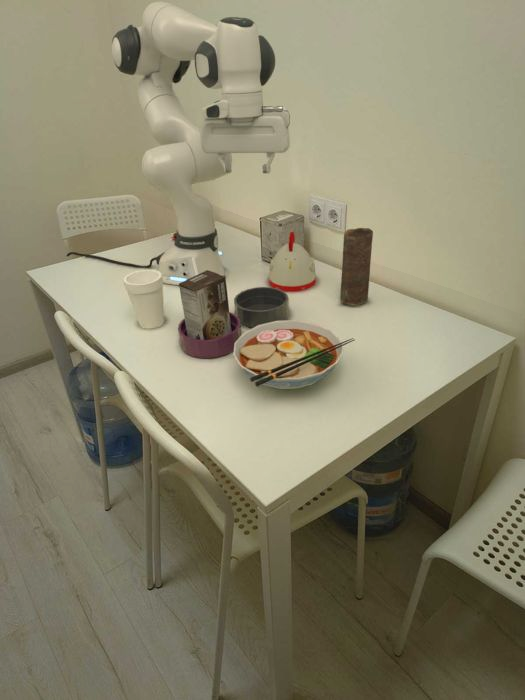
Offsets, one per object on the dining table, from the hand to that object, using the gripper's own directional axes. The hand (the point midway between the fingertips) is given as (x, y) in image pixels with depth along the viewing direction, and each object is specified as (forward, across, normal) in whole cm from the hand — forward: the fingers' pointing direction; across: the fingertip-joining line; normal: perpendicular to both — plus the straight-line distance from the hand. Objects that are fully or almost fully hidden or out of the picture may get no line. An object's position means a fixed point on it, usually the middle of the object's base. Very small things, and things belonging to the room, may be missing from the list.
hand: (247, 172), depth 112 cm
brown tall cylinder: (+35, -26, -6) cm, 44 cm away
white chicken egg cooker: (+35, -7, -17) cm, 40 cm away
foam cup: (+35, +25, +13) cm, 45 cm away
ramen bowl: (+35, -15, +30) cm, 49 cm away
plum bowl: (+35, +6, +20) cm, 41 cm away
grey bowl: (+35, -3, +5) cm, 36 cm away
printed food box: (+35, +6, +20) cm, 41 cm away
